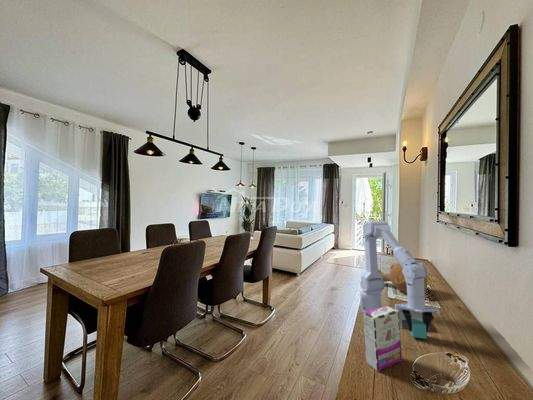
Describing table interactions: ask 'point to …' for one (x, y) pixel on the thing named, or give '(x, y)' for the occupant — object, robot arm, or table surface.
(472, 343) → the table surface
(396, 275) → the jug
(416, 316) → the block
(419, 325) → the teal block
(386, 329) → the candy bar box
